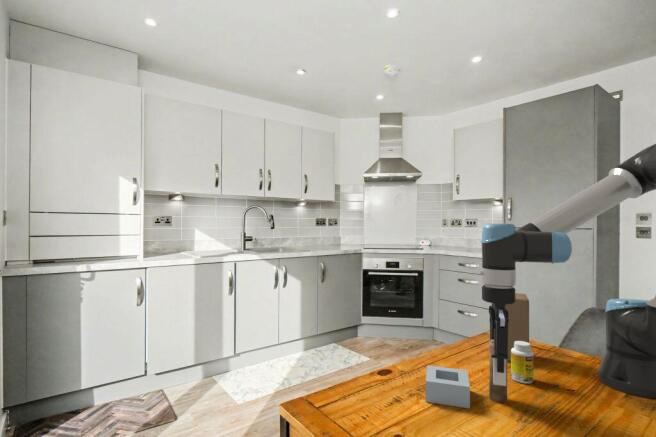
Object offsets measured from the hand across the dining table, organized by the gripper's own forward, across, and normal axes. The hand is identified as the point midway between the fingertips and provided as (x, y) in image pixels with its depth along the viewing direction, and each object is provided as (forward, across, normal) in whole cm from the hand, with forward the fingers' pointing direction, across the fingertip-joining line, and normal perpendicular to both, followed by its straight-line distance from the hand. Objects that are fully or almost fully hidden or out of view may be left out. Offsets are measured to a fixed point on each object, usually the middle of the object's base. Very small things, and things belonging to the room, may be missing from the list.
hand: (498, 380), depth 88 cm
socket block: (+5, +2, -12) cm, 13 cm away
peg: (+5, 0, 0) cm, 5 cm away
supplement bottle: (+5, -14, +8) cm, 17 cm away
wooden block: (+5, -32, +8) cm, 33 cm away
